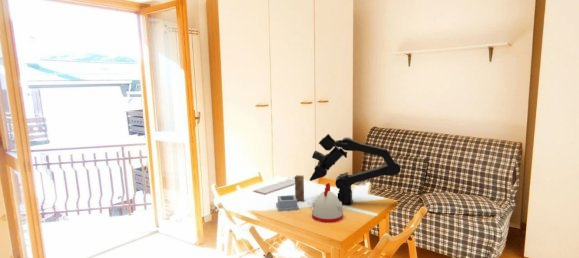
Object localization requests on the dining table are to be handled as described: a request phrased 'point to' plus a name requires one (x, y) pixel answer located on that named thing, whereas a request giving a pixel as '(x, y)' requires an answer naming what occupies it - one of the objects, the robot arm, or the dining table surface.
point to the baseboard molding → (275, 187)
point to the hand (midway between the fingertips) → (311, 177)
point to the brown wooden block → (299, 188)
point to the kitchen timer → (327, 207)
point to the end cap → (287, 203)
